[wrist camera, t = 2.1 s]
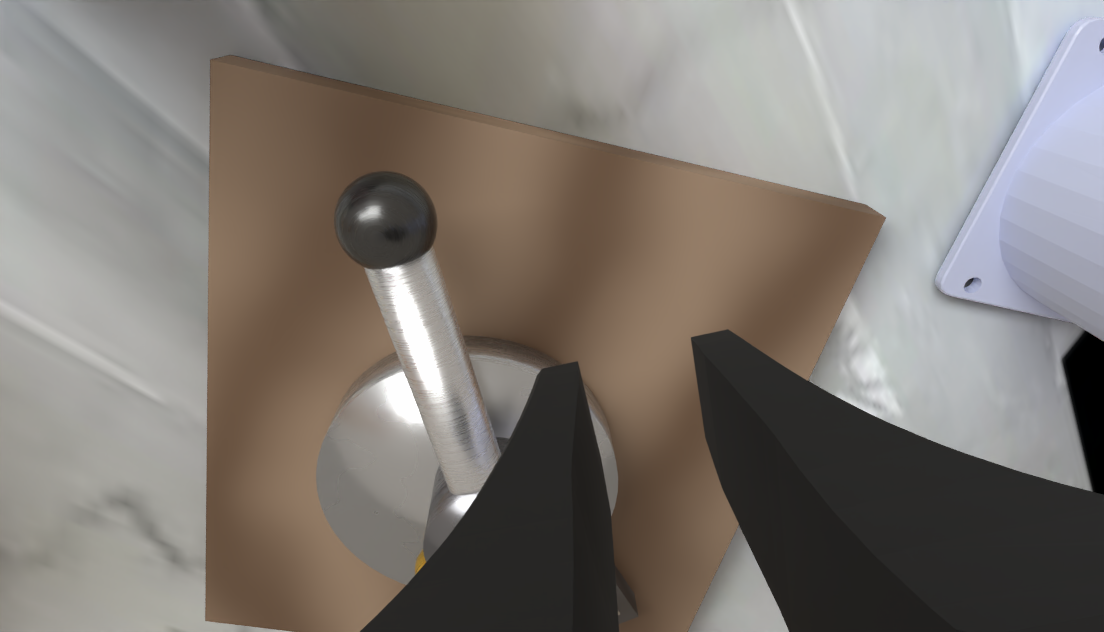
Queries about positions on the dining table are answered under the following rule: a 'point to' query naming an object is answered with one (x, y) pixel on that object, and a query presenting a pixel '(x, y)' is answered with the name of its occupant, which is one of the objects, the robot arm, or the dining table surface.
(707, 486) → the stand
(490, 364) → the ball knob lever
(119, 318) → the dining table surface
